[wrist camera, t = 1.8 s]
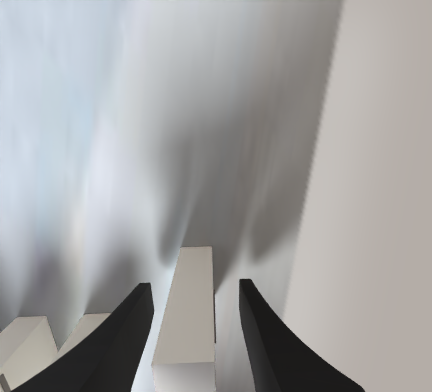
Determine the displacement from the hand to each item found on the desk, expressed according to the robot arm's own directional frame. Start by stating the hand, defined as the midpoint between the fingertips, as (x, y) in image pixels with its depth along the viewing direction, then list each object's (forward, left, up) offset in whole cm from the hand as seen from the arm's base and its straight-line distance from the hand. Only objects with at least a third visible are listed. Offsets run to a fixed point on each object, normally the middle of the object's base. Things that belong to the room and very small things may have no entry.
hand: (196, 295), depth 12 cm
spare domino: (0, 0, -2) cm, 2 cm away
